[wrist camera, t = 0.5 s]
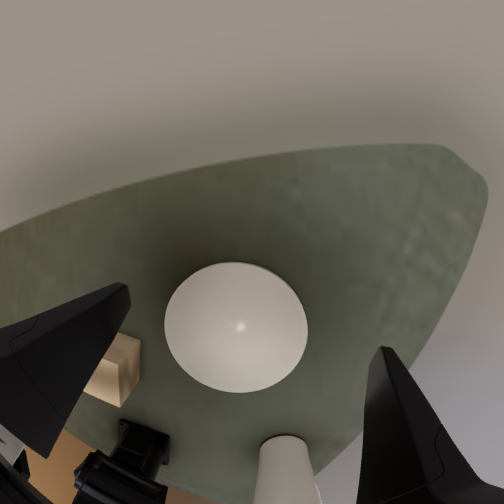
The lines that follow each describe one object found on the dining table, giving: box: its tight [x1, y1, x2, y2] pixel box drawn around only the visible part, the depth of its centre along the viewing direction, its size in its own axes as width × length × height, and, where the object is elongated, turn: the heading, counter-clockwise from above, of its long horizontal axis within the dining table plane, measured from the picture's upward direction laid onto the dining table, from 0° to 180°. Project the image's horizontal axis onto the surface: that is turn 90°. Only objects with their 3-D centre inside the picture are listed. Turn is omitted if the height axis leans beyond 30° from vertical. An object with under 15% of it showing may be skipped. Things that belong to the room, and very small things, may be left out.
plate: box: [164, 261, 308, 393], centre depth 22 cm, size 12×12×1 cm
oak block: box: [83, 332, 141, 407], centre depth 21 cm, size 5×5×5 cm
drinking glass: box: [252, 436, 322, 504], centre depth 17 cm, size 7×7×15 cm
